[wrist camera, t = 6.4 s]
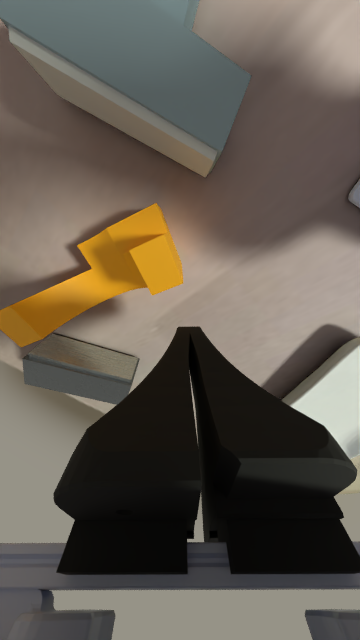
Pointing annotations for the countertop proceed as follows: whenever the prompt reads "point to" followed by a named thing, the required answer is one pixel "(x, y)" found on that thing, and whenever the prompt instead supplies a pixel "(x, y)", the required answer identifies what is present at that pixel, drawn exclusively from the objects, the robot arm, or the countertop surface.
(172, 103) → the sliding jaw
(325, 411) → the salad plate
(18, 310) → the pipe clamp
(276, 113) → the countertop surface
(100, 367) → the block
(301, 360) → the countertop surface
